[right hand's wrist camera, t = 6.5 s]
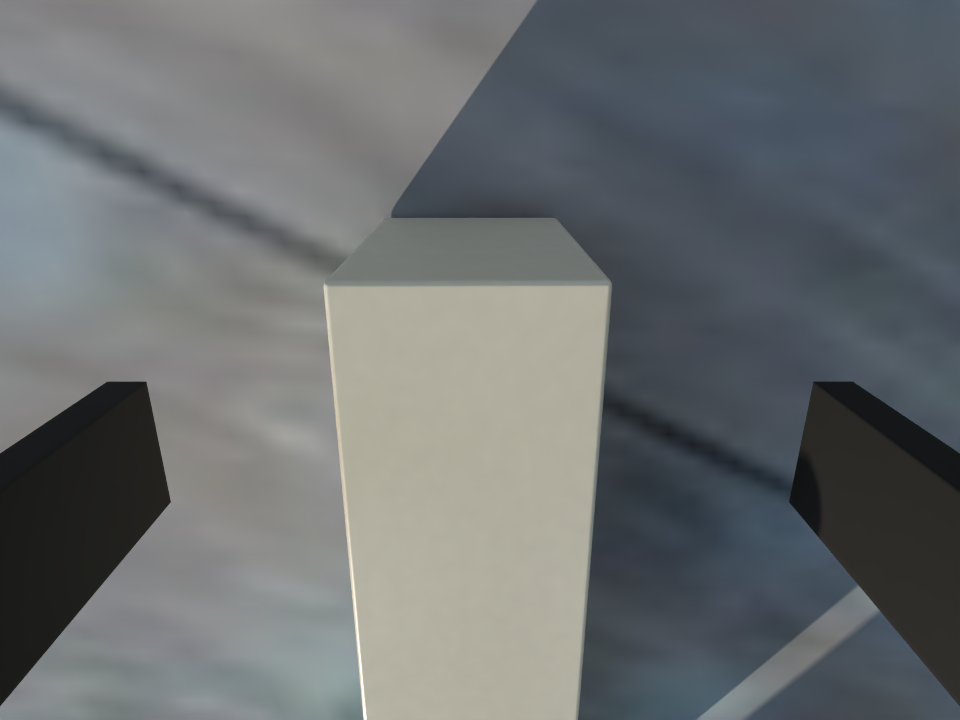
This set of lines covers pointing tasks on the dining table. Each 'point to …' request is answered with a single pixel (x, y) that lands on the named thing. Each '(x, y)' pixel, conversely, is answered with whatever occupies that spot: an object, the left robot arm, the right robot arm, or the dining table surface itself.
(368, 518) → the beam
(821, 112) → the dining table surface
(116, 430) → the right robot arm
